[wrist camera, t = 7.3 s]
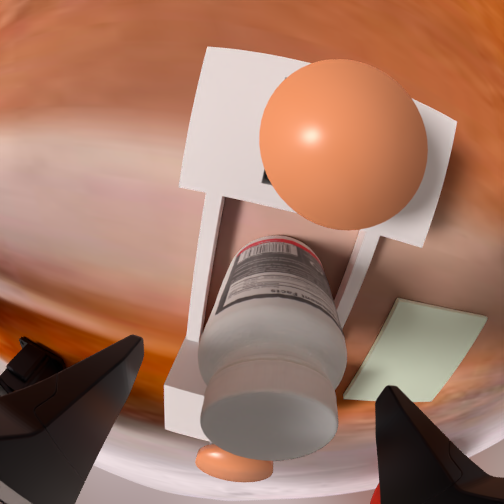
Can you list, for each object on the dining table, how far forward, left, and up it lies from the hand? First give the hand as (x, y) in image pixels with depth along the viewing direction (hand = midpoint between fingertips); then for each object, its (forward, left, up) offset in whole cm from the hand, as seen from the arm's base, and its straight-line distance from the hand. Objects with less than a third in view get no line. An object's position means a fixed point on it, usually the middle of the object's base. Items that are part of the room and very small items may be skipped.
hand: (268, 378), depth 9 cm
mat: (-4, -12, -7) cm, 15 cm away
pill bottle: (0, 0, -8) cm, 8 cm away
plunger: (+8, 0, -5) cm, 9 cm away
